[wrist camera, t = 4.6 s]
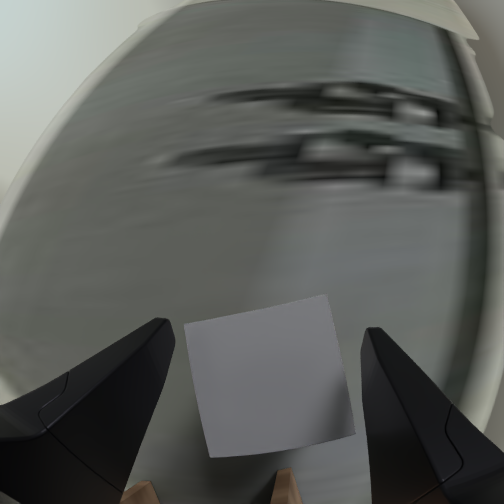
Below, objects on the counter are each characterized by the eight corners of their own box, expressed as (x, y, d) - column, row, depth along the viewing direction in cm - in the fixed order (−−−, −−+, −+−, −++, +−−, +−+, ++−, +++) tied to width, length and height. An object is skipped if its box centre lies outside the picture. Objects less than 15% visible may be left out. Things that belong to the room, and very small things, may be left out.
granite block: (330, 396, 15) (355, 433, 8) (248, 413, 15) (209, 457, 8) (314, 318, 17) (326, 293, 9) (233, 335, 17) (183, 323, 10)
